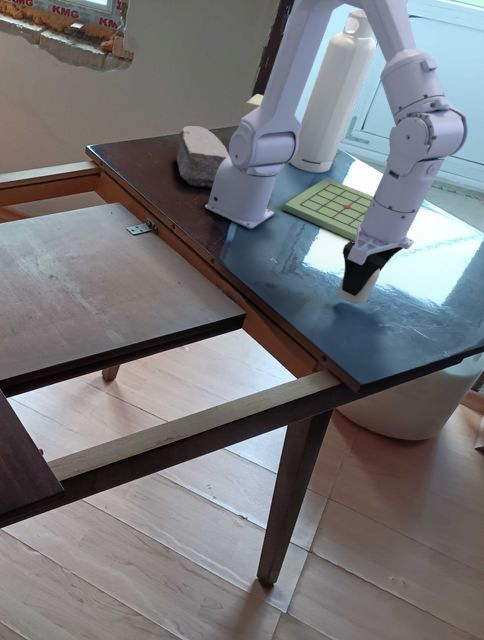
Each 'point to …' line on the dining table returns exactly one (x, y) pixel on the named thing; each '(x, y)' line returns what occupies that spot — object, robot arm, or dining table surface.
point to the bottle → (335, 93)
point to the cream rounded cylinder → (363, 294)
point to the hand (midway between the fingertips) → (356, 285)
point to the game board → (331, 207)
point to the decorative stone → (199, 156)
